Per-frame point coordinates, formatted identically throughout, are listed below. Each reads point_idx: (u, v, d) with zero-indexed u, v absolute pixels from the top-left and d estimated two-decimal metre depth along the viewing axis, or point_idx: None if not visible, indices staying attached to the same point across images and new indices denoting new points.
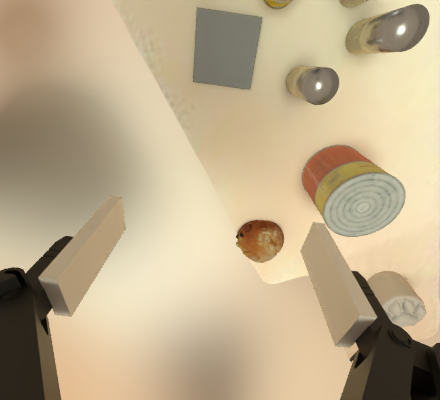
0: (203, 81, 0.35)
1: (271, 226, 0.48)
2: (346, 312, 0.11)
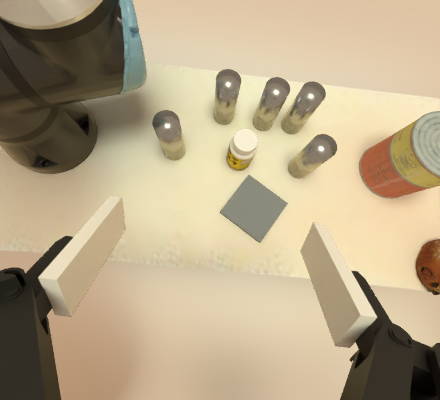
0: (264, 234, 0.40)
1: (432, 246, 0.41)
2: (346, 312, 0.11)
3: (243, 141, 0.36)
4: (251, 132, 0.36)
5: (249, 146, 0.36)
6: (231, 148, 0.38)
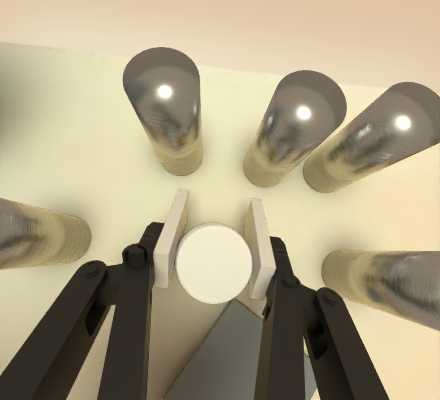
0: None
1: None
2: (256, 267, 0.12)
3: (207, 269, 0.11)
4: (232, 237, 0.12)
5: (225, 284, 0.11)
6: None
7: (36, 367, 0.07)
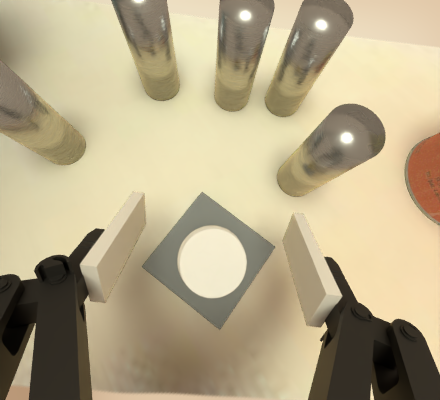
0: (228, 312, 0.20)
1: None
2: (316, 293, 0.11)
3: (206, 267, 0.13)
4: (229, 238, 0.13)
5: (222, 281, 0.13)
6: None
7: None
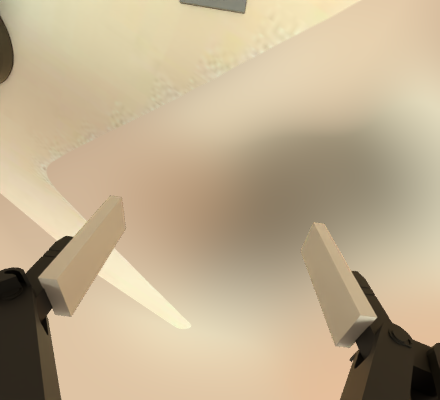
0: None
1: None
2: (346, 312, 0.11)
3: None
4: None
5: None
6: None
7: None
